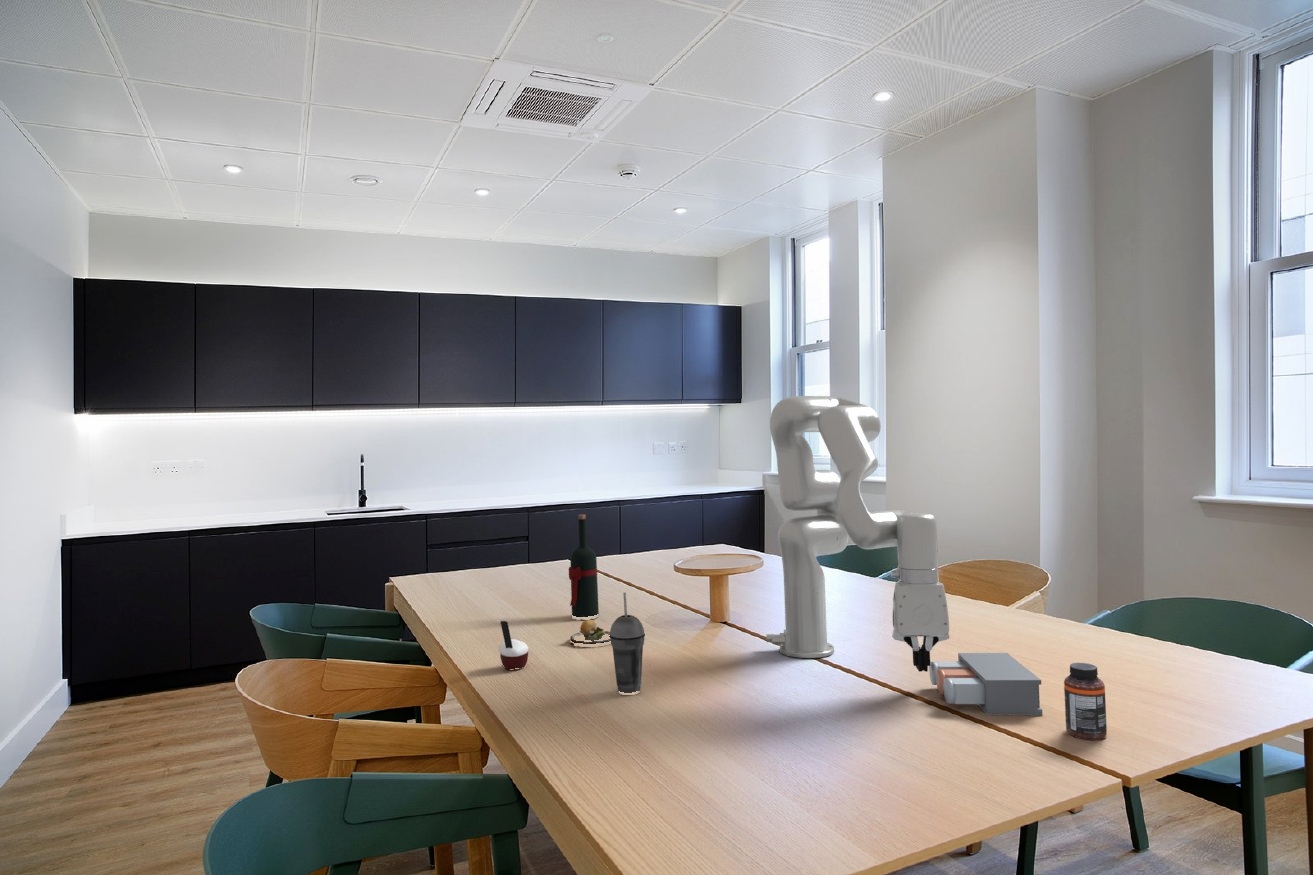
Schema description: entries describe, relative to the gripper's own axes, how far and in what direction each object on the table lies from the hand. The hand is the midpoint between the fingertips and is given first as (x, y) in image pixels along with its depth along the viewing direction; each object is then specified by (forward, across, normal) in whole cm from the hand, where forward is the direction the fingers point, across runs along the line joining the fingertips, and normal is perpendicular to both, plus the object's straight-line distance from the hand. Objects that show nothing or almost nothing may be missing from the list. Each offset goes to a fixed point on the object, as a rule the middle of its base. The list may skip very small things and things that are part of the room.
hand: (921, 669), depth 156 cm
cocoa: (+4, -87, +15) cm, 89 cm away
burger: (+4, -73, +39) cm, 83 cm away
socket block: (+4, +12, -5) cm, 14 cm away
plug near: (+3, +7, -11) cm, 13 cm away
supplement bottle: (+4, +21, -23) cm, 32 cm away
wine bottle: (+4, -82, +66) cm, 105 cm away
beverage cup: (+4, -58, -2) cm, 58 cm away
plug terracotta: (+3, +7, -5) cm, 9 cm away
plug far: (+3, +6, 0) cm, 7 cm away
